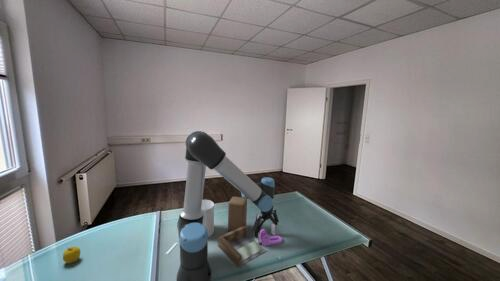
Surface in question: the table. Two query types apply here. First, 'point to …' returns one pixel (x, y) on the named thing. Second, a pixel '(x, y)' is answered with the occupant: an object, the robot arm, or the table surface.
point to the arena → (239, 246)
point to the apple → (71, 254)
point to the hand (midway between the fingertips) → (265, 238)
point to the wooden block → (237, 213)
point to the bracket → (269, 238)
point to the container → (208, 216)
